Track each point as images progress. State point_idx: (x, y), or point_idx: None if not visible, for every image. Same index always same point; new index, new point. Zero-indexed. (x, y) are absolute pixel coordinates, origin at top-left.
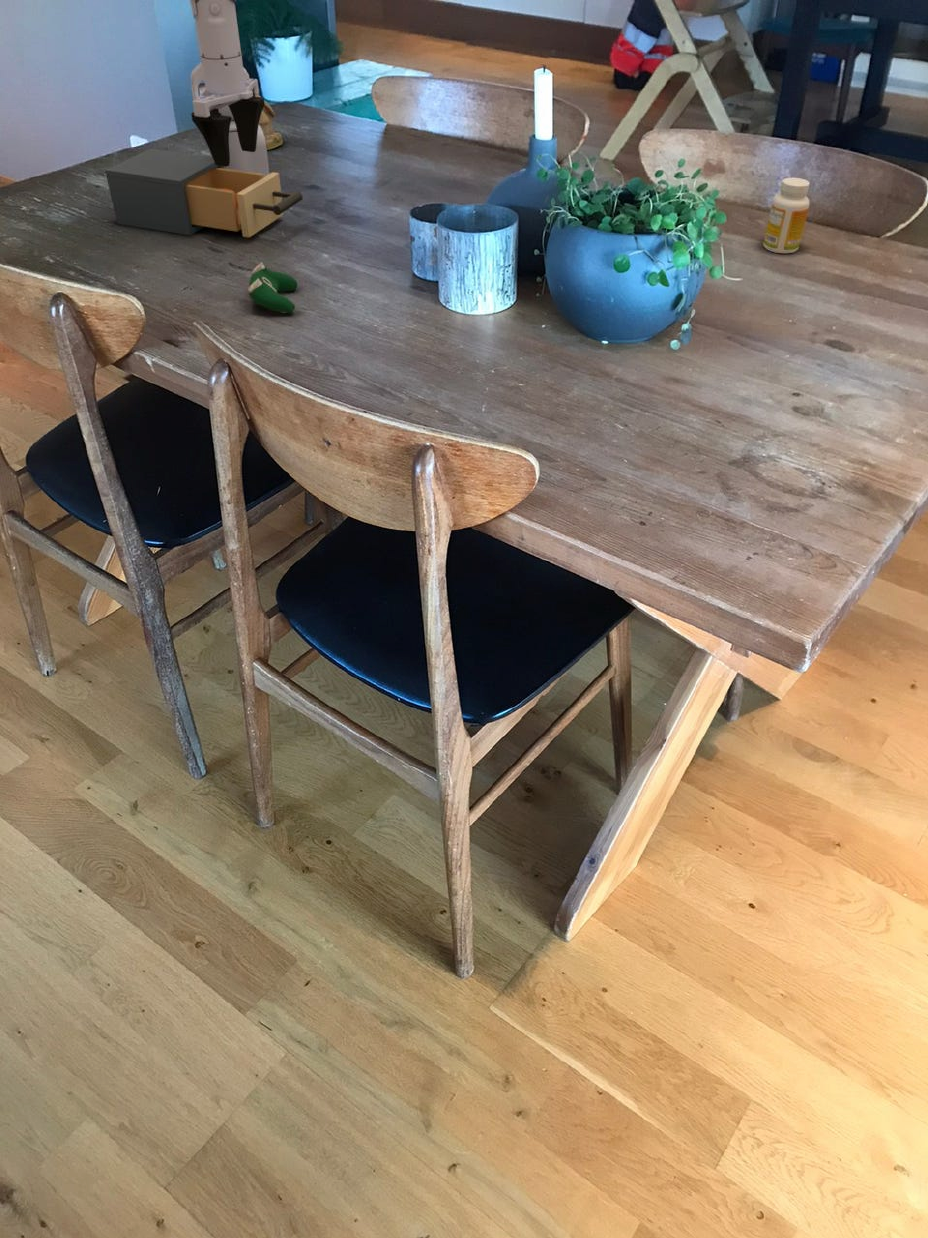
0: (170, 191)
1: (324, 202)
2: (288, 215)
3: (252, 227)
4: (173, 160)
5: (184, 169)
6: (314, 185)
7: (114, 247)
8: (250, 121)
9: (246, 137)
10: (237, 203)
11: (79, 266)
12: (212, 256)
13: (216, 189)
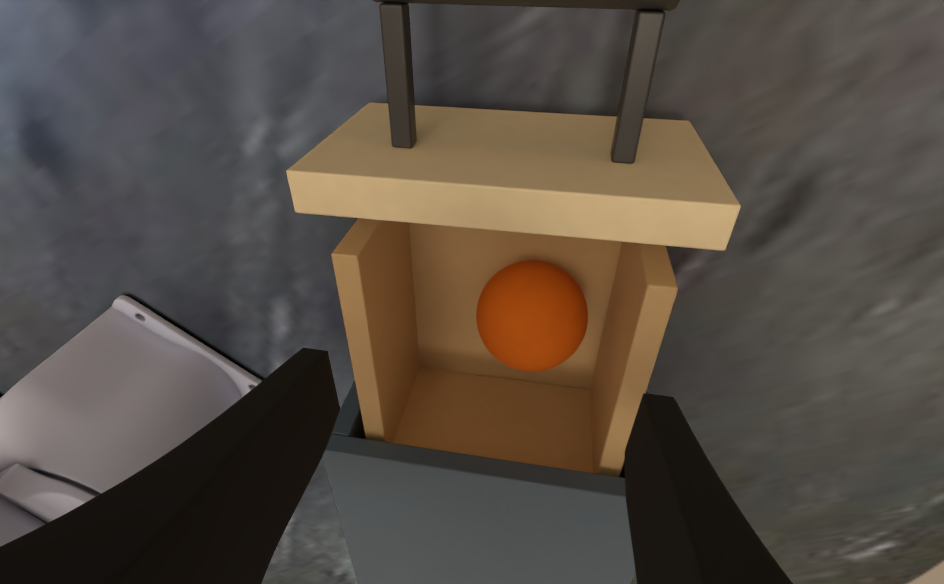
0: None
1: (112, 20)
2: (323, 105)
3: (657, 128)
4: (436, 557)
5: (514, 518)
6: (25, 154)
7: (771, 471)
8: (211, 526)
9: (293, 447)
10: (530, 268)
11: (934, 498)
12: (857, 199)
13: (643, 363)
